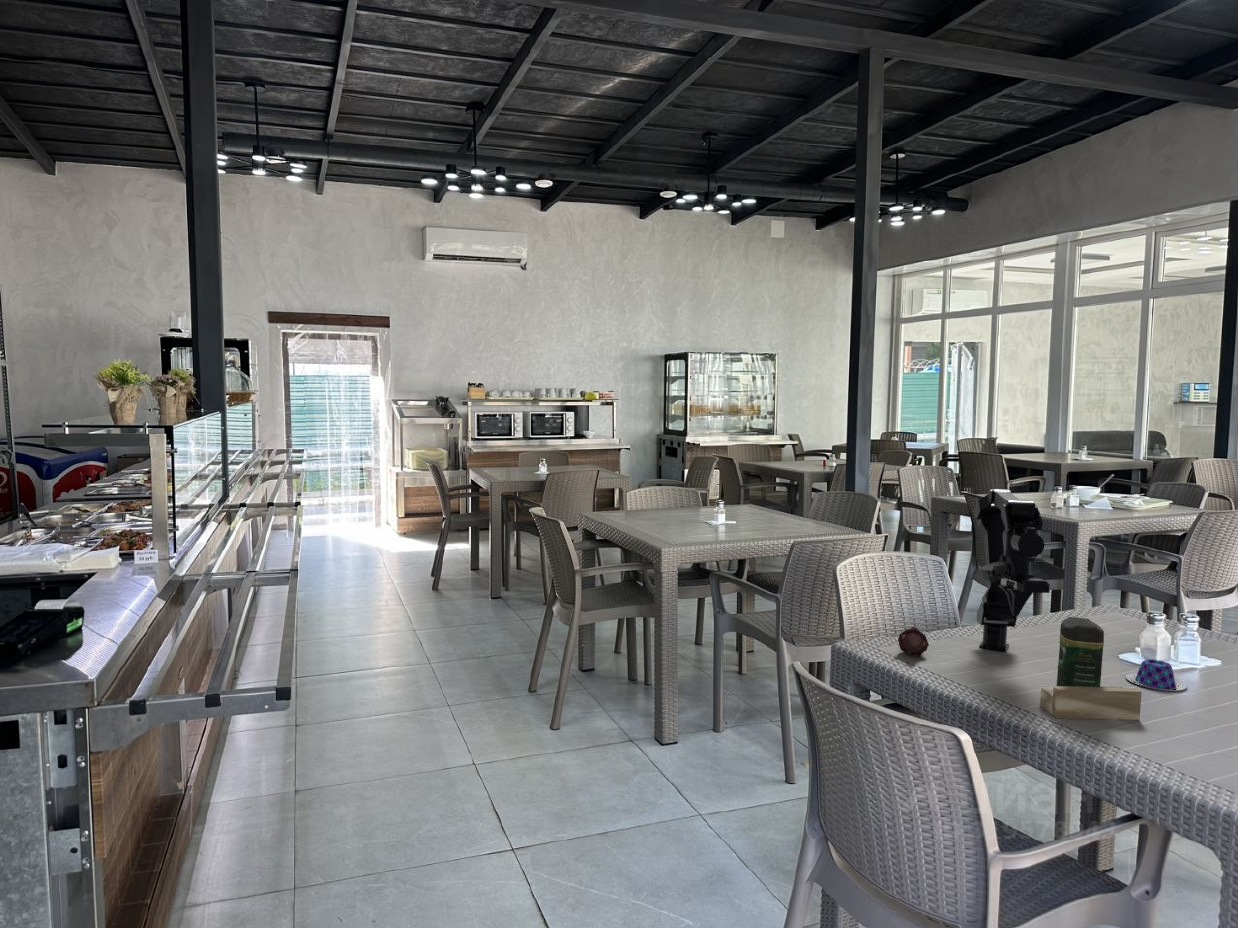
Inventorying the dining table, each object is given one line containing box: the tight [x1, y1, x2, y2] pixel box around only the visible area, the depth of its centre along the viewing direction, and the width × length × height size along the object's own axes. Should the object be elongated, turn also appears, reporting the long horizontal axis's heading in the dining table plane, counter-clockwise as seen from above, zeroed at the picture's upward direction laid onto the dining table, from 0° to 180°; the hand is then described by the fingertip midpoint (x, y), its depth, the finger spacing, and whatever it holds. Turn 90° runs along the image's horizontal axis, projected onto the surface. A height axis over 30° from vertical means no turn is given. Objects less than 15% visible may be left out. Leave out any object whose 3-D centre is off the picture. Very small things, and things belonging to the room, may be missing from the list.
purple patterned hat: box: [1125, 658, 1188, 692], centre depth 194 cm, size 12×12×5 cm
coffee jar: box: [1055, 616, 1105, 687], centre depth 179 cm, size 10×8×19 cm
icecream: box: [897, 626, 929, 656], centre depth 212 cm, size 7×7×15 cm
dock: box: [1039, 685, 1142, 721], centre depth 175 cm, size 7×17×6 cm, turn 89°
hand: (1015, 615), depth 203 cm, fingers closed
